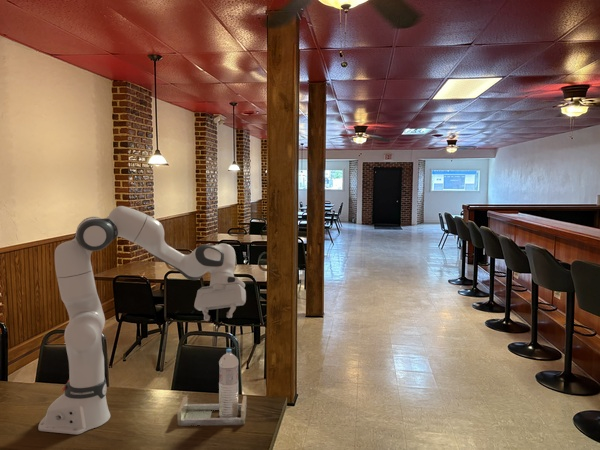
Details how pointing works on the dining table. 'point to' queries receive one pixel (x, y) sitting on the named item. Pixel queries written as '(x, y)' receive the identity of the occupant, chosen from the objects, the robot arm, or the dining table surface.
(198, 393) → the dining table surface
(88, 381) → the robot arm
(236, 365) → the water bottle
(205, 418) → the wooden rack frame
